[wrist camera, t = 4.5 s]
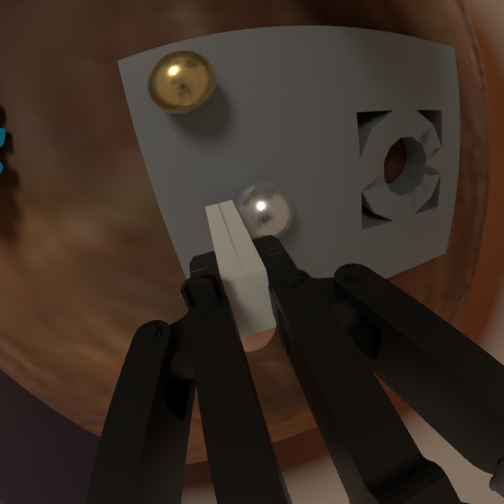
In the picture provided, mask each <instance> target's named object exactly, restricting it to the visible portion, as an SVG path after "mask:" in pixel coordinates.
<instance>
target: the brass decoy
mask: <svg viewBox="0 0 504 504" xmlns="http://www.w3.org/2000/svg"><path fill="white" fill-rule="evenodd" d="M215 87H216V73H215V69H214V67H213V65H212V64H211V62H210V61H209V60H208V59H207V58H205V57H204V56H203V55H201V54H199V53H196V52H193V51H176V52H173V53H170V54H168V55H166V56H164V57H162V58H161V59H160V60H159V61H158V62H157V63H156V64H155V65H154V66H153V68H152V70H151V71H150V74H149V77H148V82H147V88H148V93H149V96H150V98H151V100H152V101H153V103H154V104H155V105H156V106H157V107H159V108H160V109H161V110H163V111H165V112H168V113H171V114H187V113H191V112H194V111H196V110H198V109H199V108H201V107H202V106H204V105H205V104H206V103H207V102H208V101H209V99H210V98H211V96H212V95H213V93H214V90H215Z"/></svg>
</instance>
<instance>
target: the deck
mask: <svg viewBox="0 0 504 504" xmlns="http://www.w3.org/2000/svg"><path fill="white" fill-rule="evenodd" d="M176 51H193V52H196V53H199V54H201V55H203V56H204V57H205V58H207V59H208V60H209V61H210V62H211V64H212V65H213V67H214V69H215V73H216V87H215V90H214V93H213V95H212V96H211V98H210V99H209V101H208V102H207V103H206V104H205V105H204V106H202V107H201V108H199V109H198V110H196V111H194V112H191V113H187V114H171V113H168V112H165V111H163V110H161V109H160V108H159V107H157V106H156V105H155V104H154V103H153V101H152V100H151V98H150V96H149V93H148V88H147V82H148V77H149V74H150V71H151V70H152V68H153V66H154V65H155V64H156V63H157V62H158V61H159V60H160V59H161V58H162V57H164V56H166V55H168V54H170V53H173V52H176ZM118 65H119V69H120V74H121V78H122V82H123V87H124V91H125V95H126V99H127V103H128V106H129V110H130V114H131V118H132V121H133V125H134V129H135V132H136V136H137V139H138V142H139V146H140V149H141V152H142V156H143V159H144V162H145V165H146V169H147V172H148V175H149V178H150V181H151V184H152V187H153V190H154V193H155V196H156V199H157V202H158V205H159V208H160V210H161V213H162V216H163V219H164V222H165V224H166V227H167V230H168V233H169V235H170V238H171V241H172V243H173V246H174V249H175V251H176V254H177V256H178V259H179V261H180V264H181V267H182V269H183V272H184V274H185V276H186V279H188V278H190V268H189V264H190V262H191V260H192V258H193V256H197V255H201V254H204V253H208V252H211V251H215V250H214V245H213V241H212V236H211V232H210V227H209V222H208V218H207V213H206V208H205V207H207V206H210V205H214V204H218V203H222V202H225V201H229V200H232V201H233V203H234V205H235V203H236V200H237V198H238V196H239V194H240V193H241V192H242V191H243V189H245V188H246V187H247V186H249V185H251V184H253V183H255V182H260V181H268V182H273V183H276V184H278V185H279V186H281V187H282V188H284V189H285V190H286V191H287V193H288V194H289V195H290V197H291V199H292V202H293V206H294V216H293V220H292V222H291V225H290V226H289V228H288V229H287V230H286V231H285V232H284V233H283V234H282V235H281V236H279V237H277V238H278V239H279V241H280V242H281V244H282V245H283V247H284V248H285V250H286V251H287V253H288V254H289V256H290V257H291V259H292V260H293V262H294V263H295V265H296V266H297V268H298V269H300V270H303V271H306V272H307V273H308V274H309V275H310V277H312V278H330V277H334V274H335V271H336V270H337V269H338V268H339V267H340V266H342V265H345V264H351V263H356V264H362V265H364V266H366V267H368V268H369V269H371V270H373V271H374V272H376V273H377V274H379V275H380V276H382V277H383V278H385V279H386V278H389V277H391V276H394V275H396V274H399V273H401V272H404V271H406V270H408V269H411V268H413V267H415V266H418V265H420V264H422V263H425V262H427V261H429V260H431V259H434V258H436V257H438V256H440V255H443V254H445V253H446V250H447V246H448V241H449V236H450V231H451V226H452V220H453V214H454V207H455V200H456V192H457V183H458V172H459V157H460V99H459V85H458V75H457V66H456V59H455V52H454V47H450V46H447V45H444V44H440V43H437V42H433V41H429V40H425V39H421V38H417V37H412V36H408V35H403V34H397V33H392V32H385V31H379V30H371V29H363V28H353V27H339V26H277V27H263V28H253V29H244V30H236V31H229V32H223V33H217V34H212V35H206V36H201V37H197V38H192V39H188V40H184V41H180V42H176V43H172V44H168V45H165V46H161V47H158V48H154V49H151V50H148V51H145V52H142V53H139V54H136V55H133V56H130V57H128V58H125V59H122V60H120V61H118ZM417 110H421V114H420V113H419V112H418V111H417ZM356 112H365V113H364V114H363V115H362V116H361V117H359V118H358V119H357V113H356ZM400 138H402V140H403V142H404V145H405V147H406V164H405V166H404V169H403V171H402V173H401V175H400V176H399V177H398V178H397V179H396V180H394V181H393V182H392V183H389V184H386V182H385V180H384V161H385V158H386V156H387V153H388V151H389V148H390V147H391V146H392V145H393V144H394V143H395V142H396V141H397V140H399V139H400ZM362 205H364V206H365V207H366V208H368V209H369V210H368V211H364V212H362ZM250 238H251V240H252V239H254V238H252V237H250Z"/></svg>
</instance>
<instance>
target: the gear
mask: <svg viewBox="0 0 504 504" xmlns="http://www.w3.org/2000/svg"><path fill="white" fill-rule="evenodd" d="M5 131H6V130H5V129H2V128H0V148H1V147H2V146H3V143H4V140H5ZM2 169H3V165H2V164H1V163H0V174H1V171H2Z"/></svg>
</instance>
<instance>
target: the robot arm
mask: <svg viewBox="0 0 504 504" xmlns="http://www.w3.org/2000/svg"><path fill="white" fill-rule="evenodd" d="M205 208H206V213H207V218H208V222H209V227H210V232H211V236H212V241H213V245H214V250H215V251H211V252H208V253H204V254H201V255H197V256H193V258H192V260H191V262H190V264H189V268H190V278H188V279H187V280H186V281H185V282H184V283H183V285H182V287H181V293H182V295H183V298H184V300H185V302H186V305H187V307H188V309H189V312H188V313H187V314H186V315H185V316H184V317H183V318H181V319H180V320H178V321H176V322H174V323H172V324H170V325H168V323H166V322H164V321H162V320H154V321H149V322H147V323H145V324H143V325H142V326H141V327H140V328H139V329H138V330H137V331H136V333H135V335H134V337H133V339H132V342H131V345H130V347H129V350H128V353H127V356H126V359H125V361H124V364H123V367H122V370H121V373H120V376H119V379H118V382H117V385H116V388H115V391H114V394H113V397H112V400H111V403H110V407H109V410H108V413H107V417H106V420H105V424H104V427H103V431H102V434H101V438H100V442H99V446H98V449H97V453H96V458H95V461H94V466H93V470H92V475H91V479H90V483H89V489H88V493H87V498H86V504H181V497H182V488H183V479H184V470H185V462H186V454H187V446H188V438H189V431H190V423H191V416H192V409H193V402H194V396H195V389H196V386H197V393H198V401H199V408H200V414H201V421H202V427H203V433H204V439H205V445H206V451H207V456H208V461H209V466H210V472H211V477H212V482H213V486H214V491H215V495H216V500H217V504H292V501H291V498H290V495H289V493H288V490H287V487H286V484H285V481H284V478H283V475H282V472H281V469H280V466H279V463H278V460H277V457H276V454H275V451H274V448H273V444H272V441H271V438H270V435H269V432H268V429H267V425H266V422H265V419H264V416H263V412H262V409H261V406H260V403H259V399H258V396H257V392H256V389H255V386H254V382H253V379H252V375H251V372H250V369H249V365H248V362H247V358H246V354H245V351H244V348H243V345H242V342H241V338H240V337H244V336H248V335H251V334H254V333H258V332H262V331H265V330H268V329H271V328H275V327H276V323H277V325H278V328H279V332H280V338H281V344H282V350H283V349H285V350H286V352H287V354H288V357H289V359H290V362H291V364H292V366H293V369H294V371H295V373H296V376H297V378H298V381H299V383H300V385H301V388H302V390H303V392H304V395H305V397H306V400H307V402H308V404H309V407H310V409H311V411H312V414H313V416H314V418H315V421H316V423H317V425H318V428H319V430H320V432H321V435H322V437H323V439H324V442H325V444H326V446H327V449H328V451H329V453H330V456H331V458H332V460H333V463H334V465H335V468H336V470H337V472H338V474H339V477H340V479H341V481H342V484H343V486H344V488H345V491H346V493H347V495H348V498H349V502H350V504H468V503H463V502H461V501H460V499H459V498H458V496H457V494H456V492H455V490H454V488H453V486H452V484H451V482H450V480H449V479H448V477H447V475H446V474H445V472H444V471H443V469H442V468H441V467H440V466H439V465H438V464H436V463H435V462H432V461H430V460H427V459H426V458H425V457H423V455H422V454H421V453H420V451H419V449H418V448H417V446H416V444H415V442H414V440H413V439H412V437H411V435H410V433H409V432H408V430H407V428H406V426H405V425H404V423H403V421H402V420H401V418H400V417H399V415H398V413H397V411H396V410H395V408H394V406H393V404H392V403H391V401H390V399H389V398H388V396H387V395H386V393H385V391H384V390H383V388H382V386H381V385H380V383H379V381H378V380H377V378H376V377H375V375H374V373H375V374H376V375H377V376H379V377H380V378H381V379H382V380H383V381H384V382H385V383H386V384H387V385H388V386H389V387H390V388H391V389H393V390H394V392H396V393H397V394H398V395H399V396H400V397H401V398H402V399H403V400H404V401H405V402H406V403H407V404H408V405H409V406H410V407H411V408H412V409H413V410H414V411H415V412H417V413H418V414H419V415H420V416H421V417H422V418H423V419H424V420H425V421H426V422H427V423H429V425H430V426H431V427H433V429H435V430H436V431H437V432H438V433H439V434H440V435H441V436H442V437H443V438H444V439H445V440H446V441H447V442H448V443H450V445H451V446H453V447H454V448H455V449H456V450H457V451H458V452H459V453H460V454H461V455H462V456H463V457H464V458H465V459H467V460H468V461H469V462H470V463H472V464H473V465H474V466H476V467H477V468H479V469H481V470H483V471H484V472H487V473H490V474H493V476H492V478H491V480H490V483H489V487H490V489H491V490H492V491H496V492H497V493H498V494H500V495H501V496H503V497H504V365H502V364H501V363H500V362H498V361H497V360H496V359H495V358H494V357H492V356H491V355H490V354H489V353H487V352H486V351H485V350H483V349H482V348H481V347H480V346H478V345H477V344H476V343H474V342H473V341H472V340H470V339H469V338H468V337H466V336H465V335H464V334H462V333H461V332H460V331H459V330H457V329H456V328H454V327H453V326H452V325H450V324H449V323H448V322H446V321H445V320H444V319H442V318H441V317H439V316H438V315H437V314H435V313H434V312H432V311H431V310H430V309H428V308H427V307H425V306H424V305H423V304H421V303H420V302H418V301H417V300H415V299H414V298H413V297H411V296H410V295H408V294H407V293H405V292H404V291H402V290H401V289H399V288H398V287H397V286H395V285H394V284H392V283H391V282H389V281H388V280H386V279H385V278H383V277H382V276H380V275H379V274H377V273H376V272H374V271H373V270H371V269H369V268H368V267H366V266H364V265H362V264H356V263H351V264H345V265H342V266H340V267H339V268H338V269H337V270H336V271H335V274H334V277H330V278H312V277H310V275H309V274H308V273H307V272H306V271H303V270H300V269H298V268H297V266H296V265H295V263H294V262H293V260H292V259H291V257H290V256H289V254H288V253H287V251H286V250H285V248H284V247H283V245H282V244H281V242H280V241H279V239H278V238H276V237H274V236H272V235H267V236H263V237H259V238H256V239H252V240H251V238H250V236H249V234H248V232H247V230H246V228H245V226H244V223H243V221H242V219H241V217H240V215H239V213H238V211H237V209H236V207H235V205H234V203H233V201H232V200H229V201H225V202H222V203H218V204H214V205H210V206H207V207H205ZM275 321H276V322H275ZM372 371H373V372H374V373H373V372H372Z"/></svg>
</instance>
